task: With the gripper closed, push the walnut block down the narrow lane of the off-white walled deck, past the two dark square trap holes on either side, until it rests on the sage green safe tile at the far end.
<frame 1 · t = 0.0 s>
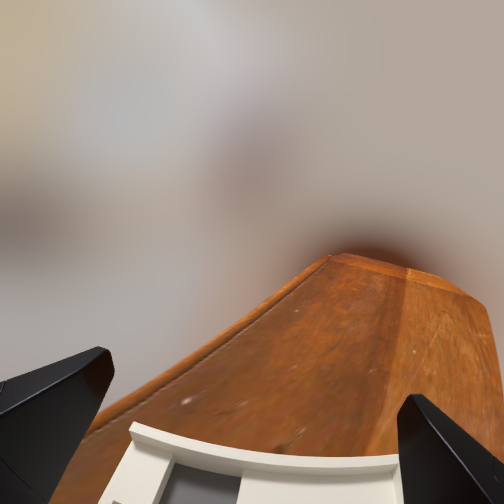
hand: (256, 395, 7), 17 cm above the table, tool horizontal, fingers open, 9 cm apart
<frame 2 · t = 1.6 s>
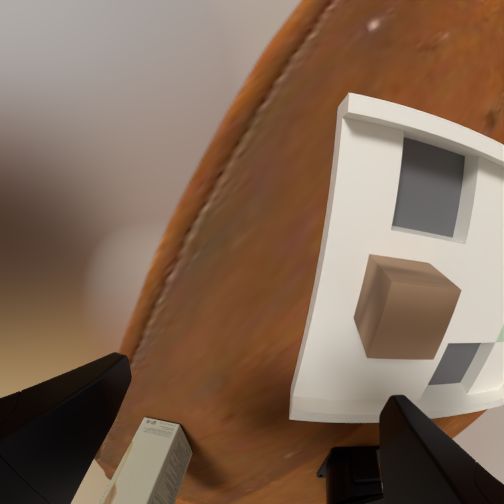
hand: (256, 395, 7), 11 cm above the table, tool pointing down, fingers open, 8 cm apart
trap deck: (458, 287, 16), on the table
skincare box: (170, 435, 25), on the table
block: (392, 290, 15), point 2 cm above the table, touching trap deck
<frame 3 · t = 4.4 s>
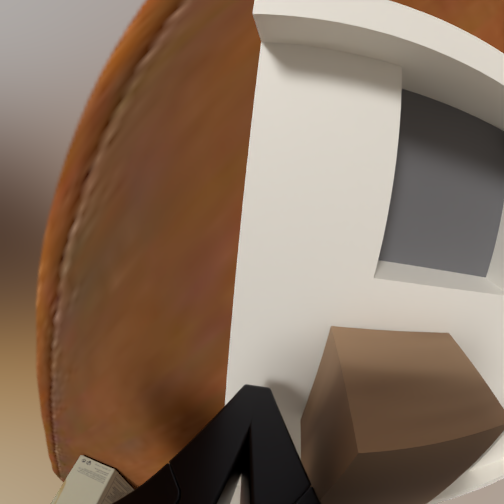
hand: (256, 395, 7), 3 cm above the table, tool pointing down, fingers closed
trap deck: (481, 350, 9), on the table
skincare box: (112, 474, 18), on the table
block: (374, 382, 8), point 2 cm above the table, touching gripper
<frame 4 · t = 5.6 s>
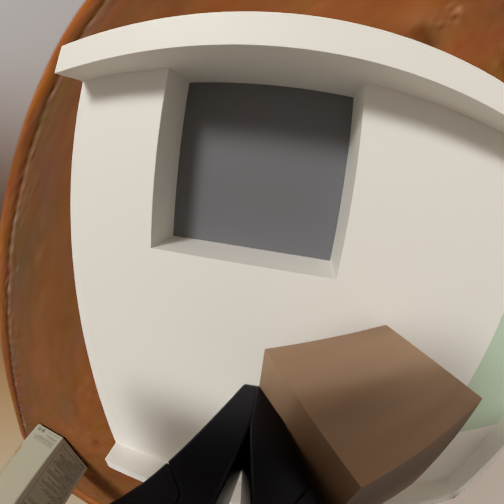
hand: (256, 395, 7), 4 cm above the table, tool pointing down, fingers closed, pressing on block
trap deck: (357, 348, 10), on the table
skincare box: (65, 446, 19), on the table
block: (318, 390, 8), point 3 cm above the table, tilted 28°, touching gripper
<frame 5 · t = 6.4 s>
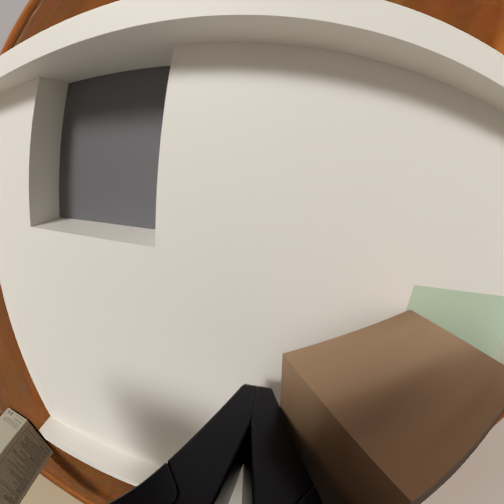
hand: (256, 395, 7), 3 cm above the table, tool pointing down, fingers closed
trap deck: (232, 331, 10), on the table
skincare box: (32, 430, 19), on the table
block: (345, 389, 7), point 3 cm above the table, tilted 28°, touching gripper, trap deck
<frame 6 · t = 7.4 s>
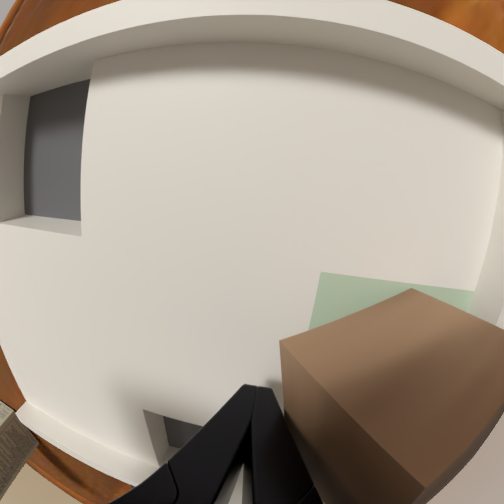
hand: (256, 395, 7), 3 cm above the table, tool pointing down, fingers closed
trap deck: (165, 318, 10), on the table
skincare box: (20, 421, 19), on the table
block: (351, 376, 7), point 3 cm above the table, tilted 29°, touching gripper
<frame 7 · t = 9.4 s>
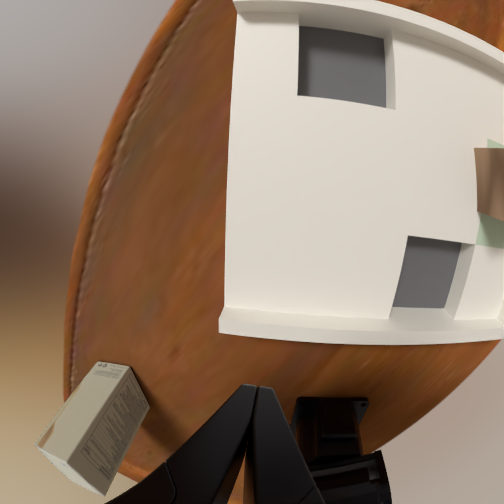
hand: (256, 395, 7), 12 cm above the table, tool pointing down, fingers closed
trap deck: (409, 174, 15), on the table
skincare box: (125, 384, 25), on the table
block: (496, 179, 12), point 2 cm above the table, touching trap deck
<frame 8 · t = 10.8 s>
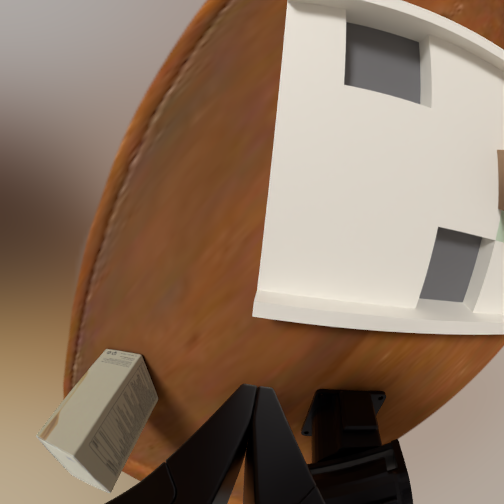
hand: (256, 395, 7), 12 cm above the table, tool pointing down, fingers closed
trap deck: (438, 170, 15), on the table
skincare box: (134, 374, 24), on the table
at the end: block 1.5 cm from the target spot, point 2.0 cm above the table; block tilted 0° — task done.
